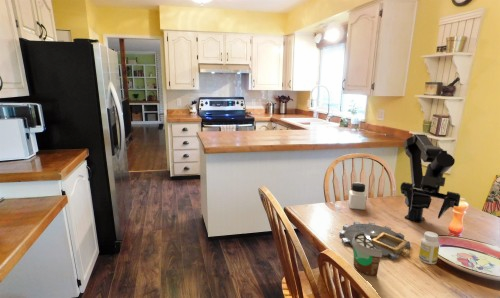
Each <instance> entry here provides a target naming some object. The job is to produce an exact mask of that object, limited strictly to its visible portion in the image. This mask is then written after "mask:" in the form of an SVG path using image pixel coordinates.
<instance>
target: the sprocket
mask: <svg viewBox="0 0 500 298" xmlns="http://www.w3.org/2000/svg"><path fill="white" fill-rule="evenodd" d="M359 232H364V235H365V236H366V237H367V238H368V239H369V240H370V241H372V243H373V244H374V245H375V247H376V248H377V249H378V250H382V257H381V258H389V260H392V261H394V260H398V259H399V256H401V255H402V256H404V257H407V256H408V255H409V254H410V248H411V242H410V241H407V240H405V235H404V234H403V233H401V232H396V231H394V230H392V228H391V227H389V226H387V225H385V226H380V225H377V224H375V223H374V222H368V223H361V222H359V221H354V222H353V224H350V225H349V224H344V225H343V226H342V229H341V230H339V237H342V238H341V243H342V244H343V245H344V246H350V247H351V248H352V251H353V252H354V246H353V245H352V240H353V237H354V236H355V234H356V233H359Z"/></svg>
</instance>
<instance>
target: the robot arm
mask: <svg viewBox="0 0 500 298" xmlns="http://www.w3.org/2000/svg"><path fill="white" fill-rule="evenodd" d="M403 149H404V152H405V154H406V156H407V157H408V158H409V166H410V175H411V176H410V178H411V179H410V180H411V183H410V182H405V181H403V182H402V183H401V184H400V193H401V194H402V195H404V197H405V199H404V204H405V205H406V207H407V208H408V210H407V214H406V215H405V216H404V217H403V218H404V219H407V220H410V221H413V222H416V223H422V222H423V221H424V220H425V219H426V217H423V214H424V209H427V210H429V208H430V206H431V202H432V198H437V199H441V200H443V203H442V205H441V207H440V210H439V212H438V216H437V219H440V218H441V217H442V216H443V215H444V214H445V213H446V212H447V211H448V210H449V209H450V208H454V207H459V206H460V202H461V201H460V200H461V194H460V193H458V192H453V191H449V190H447V192H446V194H445V193H441V192H440V189H441V187H445V184H446V178H447V177H445V176H444V174H445V173H446V172H447V171H449V170H450V169H451V168H452V167H453V166H454V164H455V162H456V160H455V158H454V157H453V156H452V155H451V154H450V153H448V150H444V149H443V148H441V147H440V146H435V145H434V144H433V143H432V141H430V139H429V137H428V135H426V134H423V133H422V134H420V133H416V134H413V136H411V137H408V138H406V140H405V141H404V143H403ZM422 162H424V163H428V164H427V166H426V169H425V173H424V174H423V164H422Z"/></svg>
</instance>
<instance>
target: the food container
mask: <svg viewBox="0 0 500 298" xmlns="http://www.w3.org/2000/svg"><path fill="white" fill-rule="evenodd" d="M352 245H353V246H354V251H353V267H354V269H355V270H356V271H357V272H359V273H360V274H362V275H365V276H368V277H374V278H375V277H378V272H379V268H380V267H379V266H380V262H381V258H383V257H382V250H378V249H377V248H376V247H375V245H374V244H373V243H372V241H370V240H369V239H368V238H367V237H366V236H365V235H364V232H359V233H356V234H355V236H354V237H353V240H352Z"/></svg>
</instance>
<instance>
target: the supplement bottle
mask: <svg viewBox="0 0 500 298" xmlns="http://www.w3.org/2000/svg"><path fill="white" fill-rule="evenodd" d="M440 246H441V244H440V242H439V235H438V234H437V233H436V232H433V231H424V235H423V237H422V238H421V240H420V246H419V251H418V252H419V253H418V258H419V260H420V261H421V262H422V263H425V264H429V265H436V264H437V262H438V259H439V258H438V256H439V251H440Z"/></svg>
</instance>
